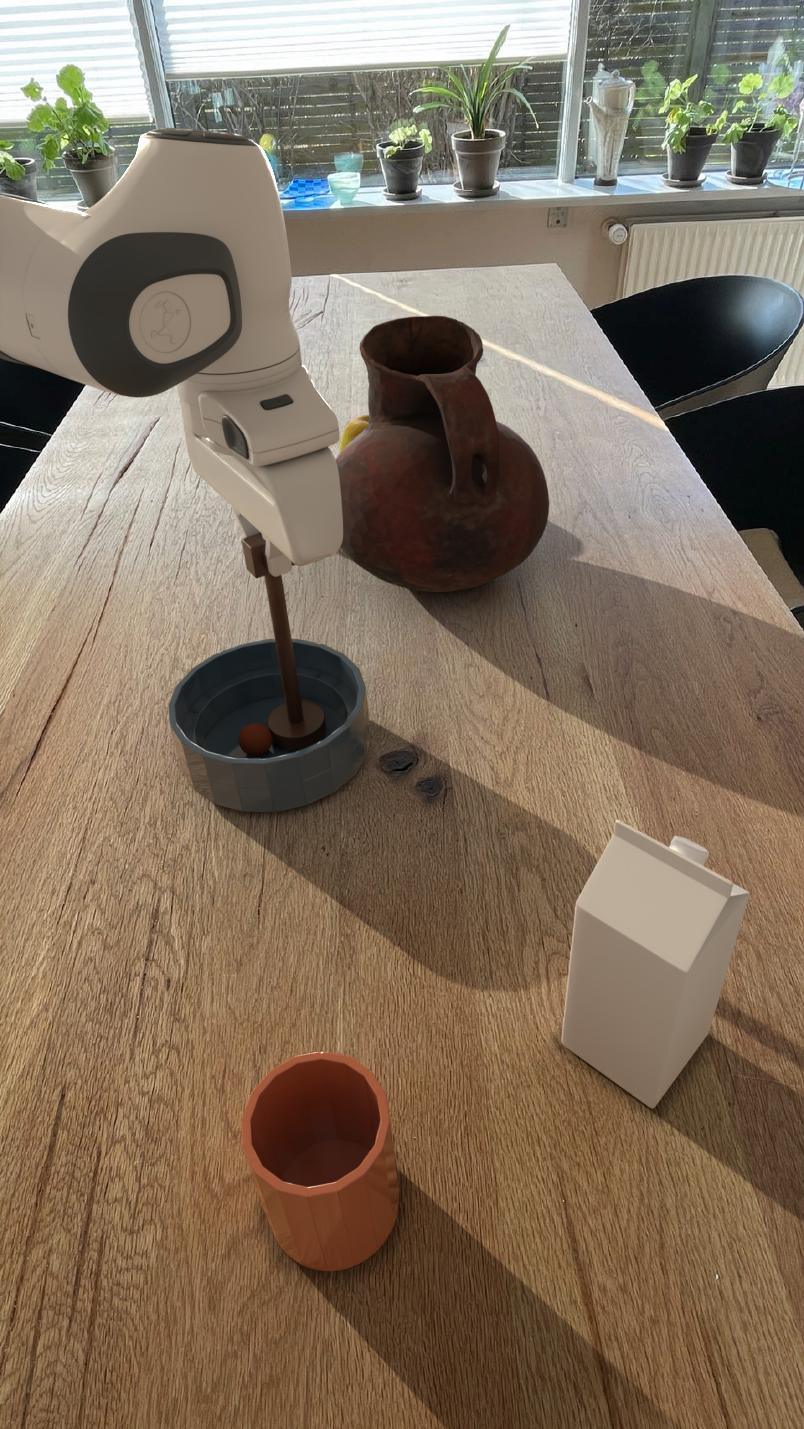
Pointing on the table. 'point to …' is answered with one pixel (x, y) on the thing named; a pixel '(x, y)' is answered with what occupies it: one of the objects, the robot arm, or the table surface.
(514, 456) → the jug
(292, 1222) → the crock
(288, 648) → the brown wooden masher
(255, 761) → the bowl
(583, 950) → the milk carton
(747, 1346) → the table surface
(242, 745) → the ball
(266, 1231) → the table surface
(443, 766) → the table surface
